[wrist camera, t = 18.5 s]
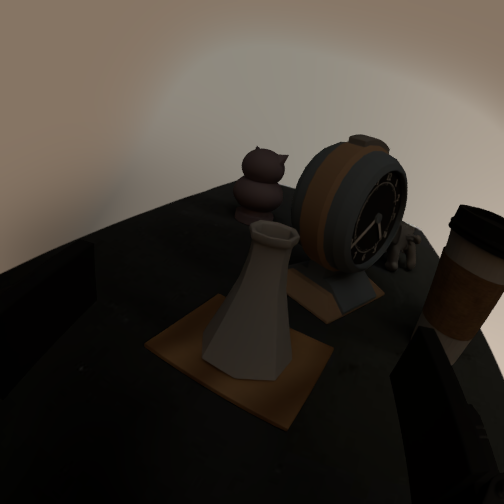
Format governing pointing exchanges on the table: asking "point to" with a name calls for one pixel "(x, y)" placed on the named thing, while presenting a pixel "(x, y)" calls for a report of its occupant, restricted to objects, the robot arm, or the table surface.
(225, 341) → the flask
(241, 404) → the wooden board
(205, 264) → the table surface
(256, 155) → the cat figurine
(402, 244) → the gray elephant figurine
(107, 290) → the table surface
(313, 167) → the alarm clock
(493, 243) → the coffee cup
